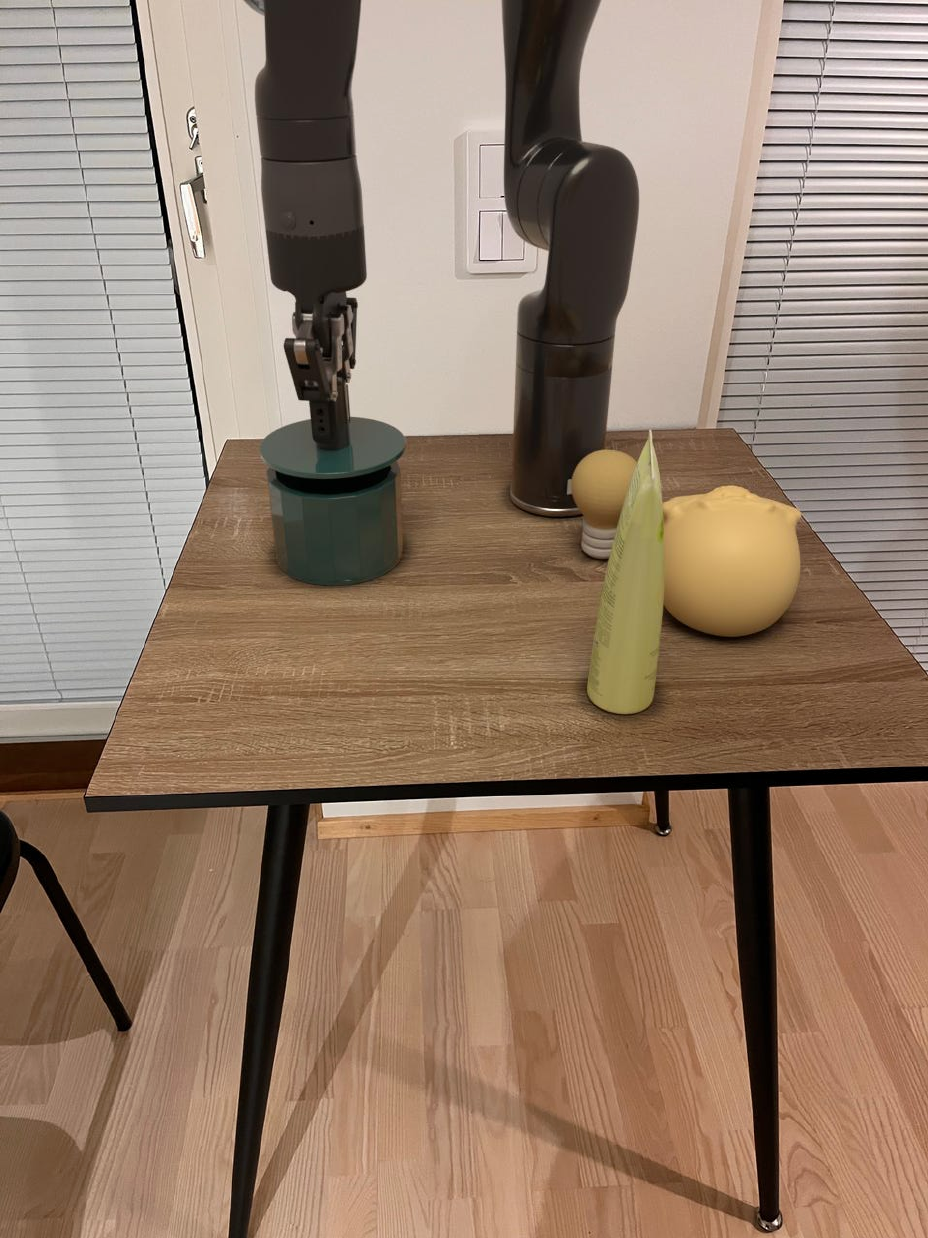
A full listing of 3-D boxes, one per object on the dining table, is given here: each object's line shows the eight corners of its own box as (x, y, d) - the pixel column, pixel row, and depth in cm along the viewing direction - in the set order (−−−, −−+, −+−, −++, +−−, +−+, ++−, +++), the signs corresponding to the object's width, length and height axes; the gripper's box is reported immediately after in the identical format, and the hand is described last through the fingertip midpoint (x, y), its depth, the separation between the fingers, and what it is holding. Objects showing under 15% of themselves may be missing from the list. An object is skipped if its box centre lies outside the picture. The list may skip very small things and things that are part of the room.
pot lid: (286, 424, 90) (278, 354, 86) (418, 431, 88) (416, 360, 84) (240, 480, 79) (229, 404, 76) (389, 490, 78) (385, 412, 74)
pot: (297, 521, 94) (289, 440, 90) (413, 529, 93) (410, 447, 88) (259, 580, 85) (248, 493, 80) (387, 590, 83) (383, 502, 79)
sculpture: (774, 580, 85) (798, 468, 79) (800, 658, 75) (829, 536, 69) (644, 573, 86) (658, 462, 80) (652, 648, 76) (669, 527, 70)
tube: (674, 705, 70) (713, 457, 59) (621, 730, 68) (652, 475, 57) (622, 667, 74) (650, 428, 63) (571, 689, 72) (591, 444, 61)
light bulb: (641, 542, 91) (652, 444, 85) (628, 574, 86) (639, 472, 80) (575, 532, 93) (582, 434, 87) (559, 563, 88) (565, 461, 82)
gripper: (338, 241, 67) (355, 469, 76) (382, 204, 78) (392, 406, 88) (235, 238, 68) (264, 464, 77) (293, 202, 79) (312, 402, 89)
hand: (332, 432), depth 82 cm, fingers closed on pot lid, 3 cm apart
